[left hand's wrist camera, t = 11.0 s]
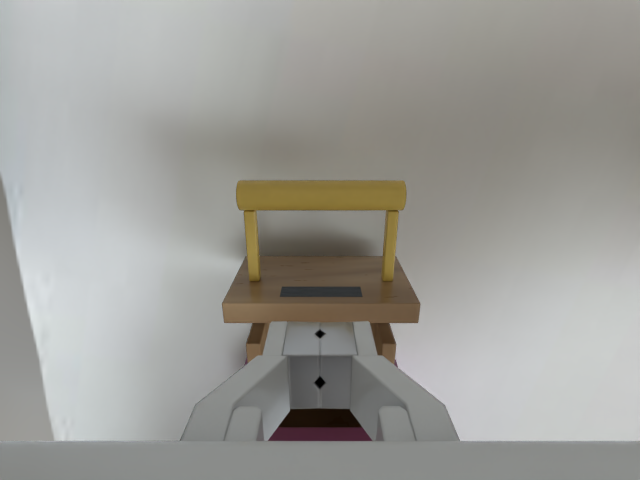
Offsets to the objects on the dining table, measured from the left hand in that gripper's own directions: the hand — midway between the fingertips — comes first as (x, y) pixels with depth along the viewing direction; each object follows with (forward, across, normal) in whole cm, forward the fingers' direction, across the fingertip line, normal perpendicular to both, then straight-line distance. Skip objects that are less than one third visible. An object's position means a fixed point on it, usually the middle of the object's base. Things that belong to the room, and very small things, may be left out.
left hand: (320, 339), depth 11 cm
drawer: (+13, 0, -9) cm, 16 cm away
